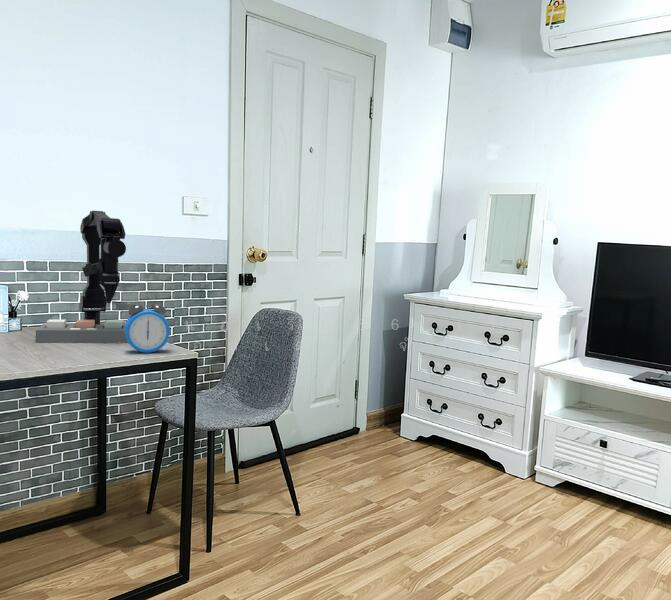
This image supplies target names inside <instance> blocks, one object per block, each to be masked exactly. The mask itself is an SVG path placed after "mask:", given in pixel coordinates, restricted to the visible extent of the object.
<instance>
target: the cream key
mask: <svg viewBox="0 0 671 600" xmlns="http://www.w3.org/2000/svg"><path fill="white" fill-rule="evenodd" d="M45 324H46V328H66V324H67V319H47V321H46V323H45Z"/></svg>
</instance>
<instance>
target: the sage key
mask: <svg viewBox="0 0 671 600" xmlns="http://www.w3.org/2000/svg"><path fill="white" fill-rule="evenodd" d="M103 325H104V328H122V325H123V319H105V321H104V324H103Z"/></svg>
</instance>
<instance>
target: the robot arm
mask: <svg viewBox="0 0 671 600" xmlns="http://www.w3.org/2000/svg"><path fill="white" fill-rule="evenodd" d="M124 226H125V225H123V222H121V219H120V218H113V217H110V216H109V215H108V214H106V211H102V210H90V211H89V214H88V215H86V216H85V217H82V220H81V223H80V228H79V231H80V232H79V233H80V234H81V239H82V241H83V242H84V243H85V245H86V264H85V266H82V267H81V270H82V273H83V275H84V277H85V278H86V282H87V283H86V286H85V287H84V289H83V291H82V294H81V297H80V300H79V305H78V307H79V308H78V309H79V310H78V311H79V312H80V313H83V320H95V325H101V313H106V312H107V304H111V303H112V301H113V298H114V296H115V294H116V291H117V289H118V287H119V284H120V275H119V258H121V257H122V256H124V255H125V254H126V252H127V246H126V244H125V242H124V241H122V240H125V239H126V238H125V237H126V230H125V227H124Z"/></svg>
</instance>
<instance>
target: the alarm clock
mask: <svg viewBox="0 0 671 600" xmlns="http://www.w3.org/2000/svg"><path fill="white" fill-rule="evenodd" d="M144 307H145V306H143V305H142V304H141V303H135V304H132V305H131V306H130V307H129V308H128V312H127V313H128V315H129V316H128V317H127V319H126V322H125V324H124V325H125V336H126V338H127V341H128V342H127V343H128V344H129V345H130V347H132V348H133V349H134V350H136V351H135V354H137V353H138V352H140V353H145V354H146V353H148V354H150V353H155V352H158V353H160V350H161V349H162V348H163V347H164V346H165V345H166V344H167V343H168V340H169V338H170V334H171V330H170V329H171V327H170V324H169V322H168V320H167V318H166V317H164V316H165V315H166V314H167V309H166V307H165V306H163V304H159V303H155V304H153V305H151V307H150V305H146V308H144ZM149 307H150V308H149Z"/></svg>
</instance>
